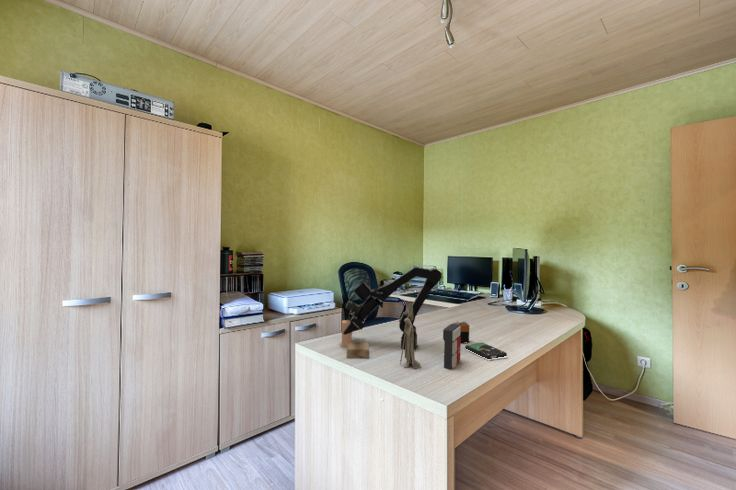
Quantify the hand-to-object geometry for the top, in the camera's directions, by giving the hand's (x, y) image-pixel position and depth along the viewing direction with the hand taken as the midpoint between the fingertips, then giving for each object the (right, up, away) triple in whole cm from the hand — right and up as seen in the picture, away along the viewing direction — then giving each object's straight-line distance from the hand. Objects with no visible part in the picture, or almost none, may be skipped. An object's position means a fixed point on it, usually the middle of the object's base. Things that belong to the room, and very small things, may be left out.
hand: (343, 331), depth 142 cm
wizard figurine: (+28, -8, -21) cm, 36 cm away
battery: (+57, -8, +8) cm, 58 cm away
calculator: (+45, -8, -20) cm, 50 cm away
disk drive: (+63, -9, -7) cm, 64 cm away
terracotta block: (+1, -7, 0) cm, 7 cm away
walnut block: (+7, -7, -11) cm, 15 cm away
